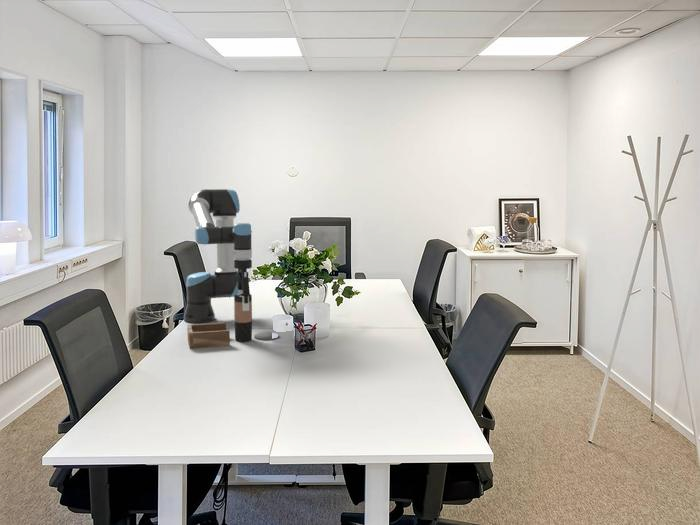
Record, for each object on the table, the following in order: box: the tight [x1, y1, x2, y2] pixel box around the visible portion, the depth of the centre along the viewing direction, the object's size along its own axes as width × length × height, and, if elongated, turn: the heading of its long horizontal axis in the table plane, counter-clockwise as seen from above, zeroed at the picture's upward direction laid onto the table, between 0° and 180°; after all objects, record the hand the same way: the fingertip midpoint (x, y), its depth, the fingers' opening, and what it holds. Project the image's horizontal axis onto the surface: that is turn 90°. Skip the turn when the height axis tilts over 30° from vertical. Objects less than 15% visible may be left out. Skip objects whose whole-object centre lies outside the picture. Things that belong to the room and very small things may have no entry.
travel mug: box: [233, 293, 253, 343], centre depth 258 cm, size 8×8×20 cm
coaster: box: [253, 331, 273, 341], centre depth 265 cm, size 11×11×1 cm
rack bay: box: [186, 322, 231, 349], centre depth 254 cm, size 15×16×6 cm
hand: (243, 307), depth 257 cm, fingers open, 13 cm apart
